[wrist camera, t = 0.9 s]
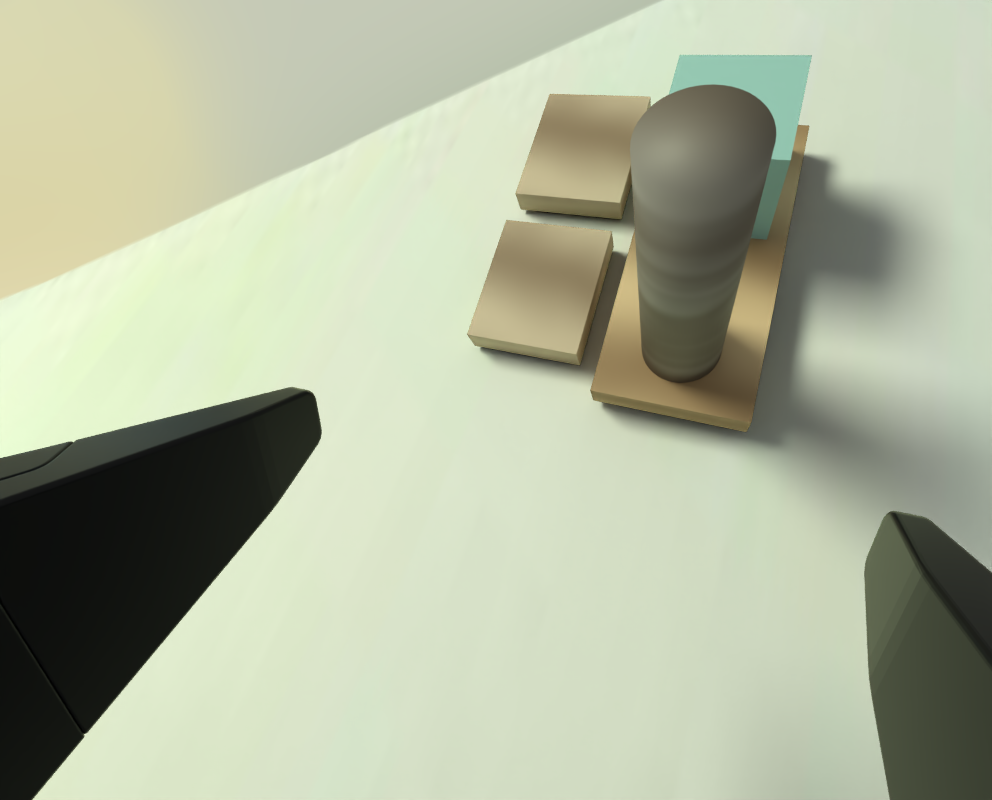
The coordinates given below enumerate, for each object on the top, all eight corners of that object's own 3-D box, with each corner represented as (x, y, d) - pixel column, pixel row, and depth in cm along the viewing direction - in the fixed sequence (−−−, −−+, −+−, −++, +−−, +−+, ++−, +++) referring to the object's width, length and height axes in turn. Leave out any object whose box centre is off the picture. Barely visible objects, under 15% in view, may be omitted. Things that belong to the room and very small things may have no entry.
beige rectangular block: (579, 365, 25) (576, 354, 24) (474, 345, 26) (467, 334, 25) (650, 116, 28) (650, 96, 27) (553, 112, 30) (549, 94, 29)
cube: (766, 239, 23) (790, 160, 19) (653, 228, 24) (652, 152, 20) (785, 148, 24) (811, 55, 20) (676, 143, 26) (679, 55, 22)
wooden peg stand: (746, 432, 22) (838, 253, 11) (593, 400, 24) (538, 221, 13) (803, 146, 25) (917, -214, 14) (664, 139, 27) (670, -181, 16)
